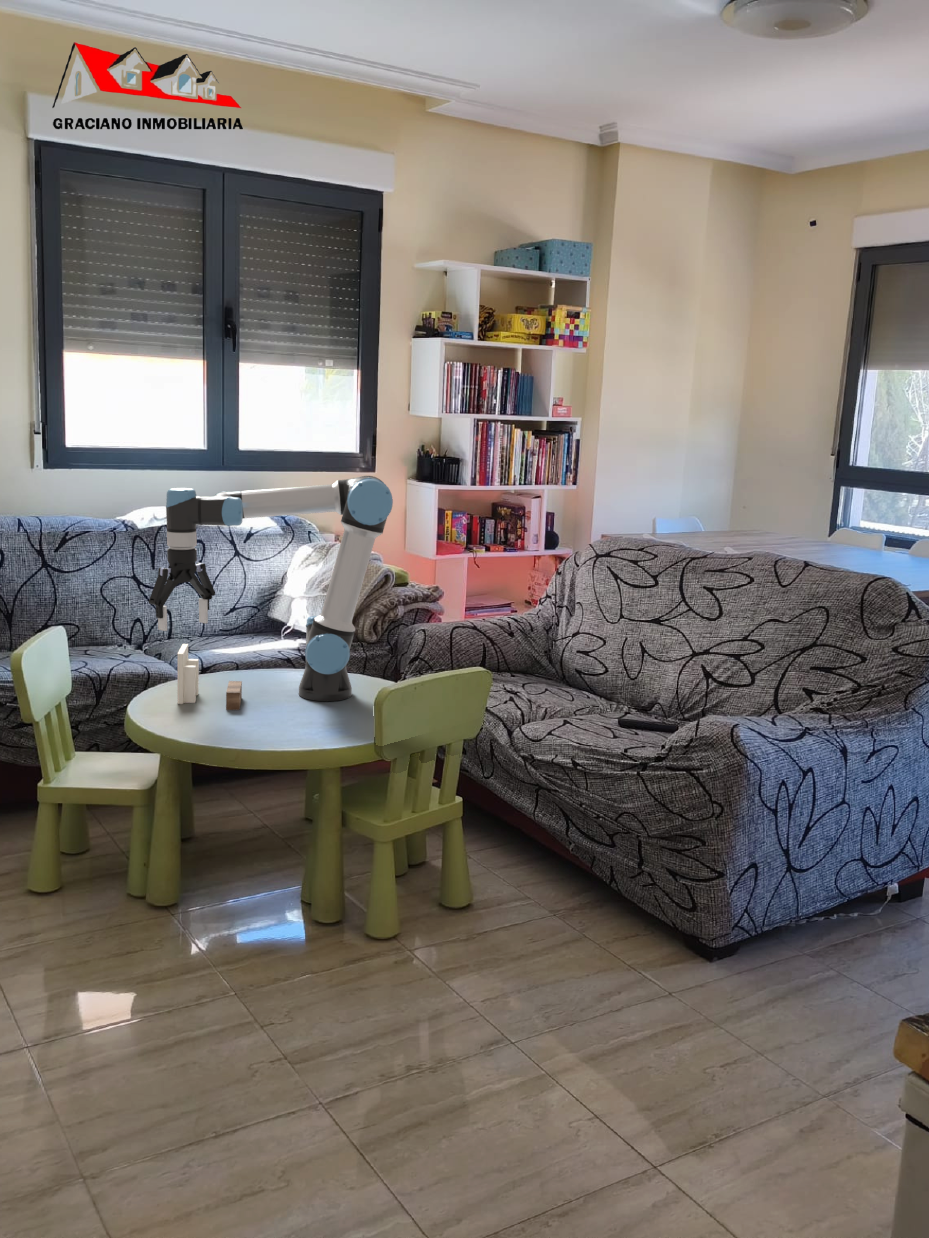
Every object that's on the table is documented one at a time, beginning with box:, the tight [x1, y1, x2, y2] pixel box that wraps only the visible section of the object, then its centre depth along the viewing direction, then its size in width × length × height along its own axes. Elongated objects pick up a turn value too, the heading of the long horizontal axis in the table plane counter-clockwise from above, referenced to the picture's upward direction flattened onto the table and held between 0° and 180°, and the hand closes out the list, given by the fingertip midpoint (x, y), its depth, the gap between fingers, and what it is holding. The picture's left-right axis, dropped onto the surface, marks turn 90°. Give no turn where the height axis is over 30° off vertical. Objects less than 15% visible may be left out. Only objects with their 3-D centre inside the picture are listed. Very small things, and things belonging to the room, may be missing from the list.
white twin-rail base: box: [177, 643, 200, 705], centre depth 301 cm, size 4×12×14 cm, turn 8°
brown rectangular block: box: [225, 680, 243, 711], centre depth 299 cm, size 12×4×5 cm, turn 9°
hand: (183, 626), depth 291 cm, fingers open, 13 cm apart
